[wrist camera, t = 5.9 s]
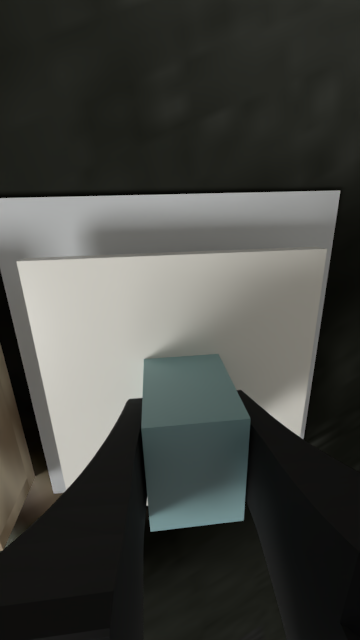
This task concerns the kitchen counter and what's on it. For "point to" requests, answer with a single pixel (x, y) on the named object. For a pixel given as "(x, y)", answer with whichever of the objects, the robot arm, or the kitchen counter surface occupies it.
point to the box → (11, 458)
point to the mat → (150, 249)
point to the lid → (175, 362)
